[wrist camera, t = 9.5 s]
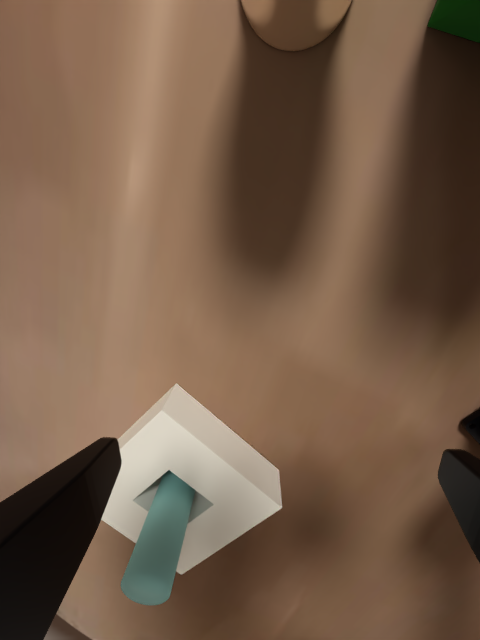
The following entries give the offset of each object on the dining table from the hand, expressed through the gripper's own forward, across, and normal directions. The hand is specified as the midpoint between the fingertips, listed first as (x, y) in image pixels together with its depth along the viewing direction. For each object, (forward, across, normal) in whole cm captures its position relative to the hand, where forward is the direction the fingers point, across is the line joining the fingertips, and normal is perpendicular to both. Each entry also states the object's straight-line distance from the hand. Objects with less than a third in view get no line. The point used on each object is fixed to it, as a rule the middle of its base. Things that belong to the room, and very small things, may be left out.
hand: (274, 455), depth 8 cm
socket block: (+13, +7, +14) cm, 20 cm away
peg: (+13, +7, +14) cm, 20 cm away
